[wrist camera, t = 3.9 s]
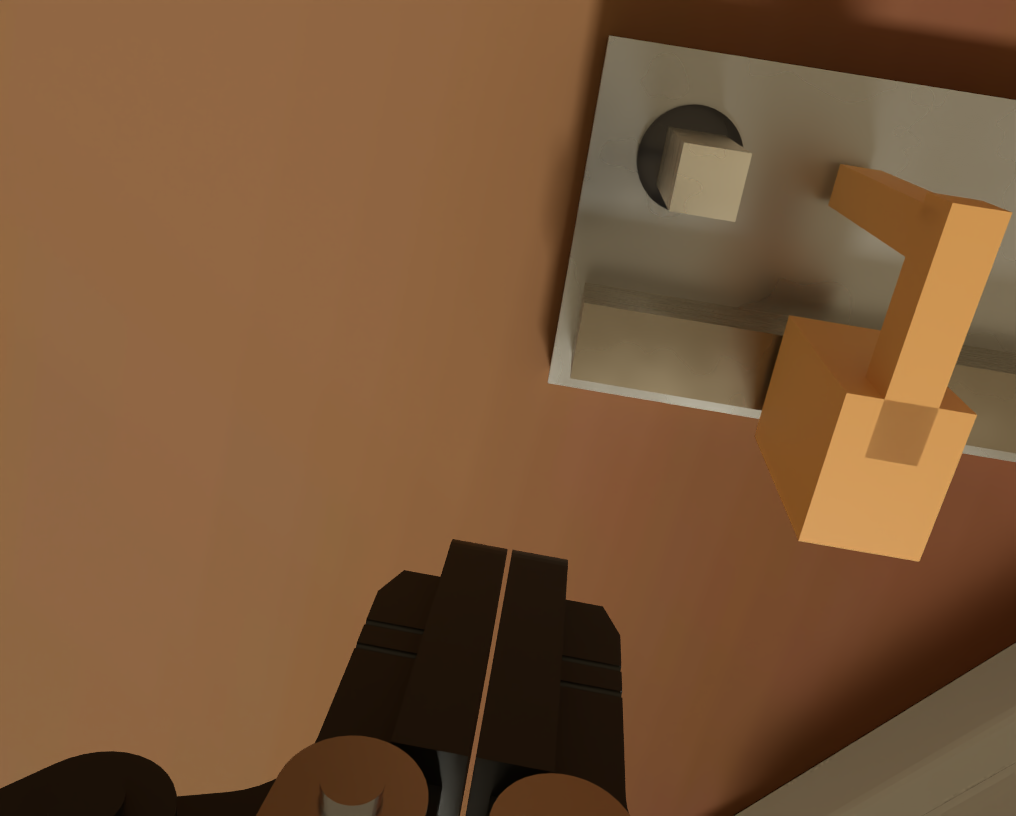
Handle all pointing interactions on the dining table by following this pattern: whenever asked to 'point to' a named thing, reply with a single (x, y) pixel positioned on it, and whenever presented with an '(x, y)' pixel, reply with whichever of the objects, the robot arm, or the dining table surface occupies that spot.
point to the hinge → (922, 758)
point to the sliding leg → (882, 377)
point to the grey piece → (765, 226)
